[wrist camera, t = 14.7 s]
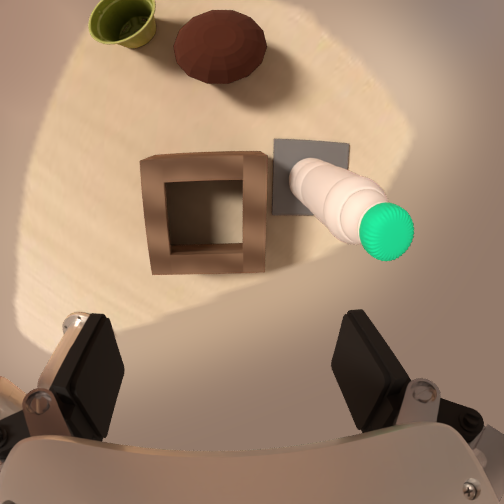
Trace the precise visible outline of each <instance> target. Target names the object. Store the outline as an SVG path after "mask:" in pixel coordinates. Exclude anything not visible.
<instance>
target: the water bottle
mask: <svg viewBox="0 0 504 504" xmlns="http://www.w3.org/2000/svg"><path fill="white" fill-rule="evenodd" d="M289 186H290V189H291V191H292V193H293V194H294V196H295V197H296V198H297V199H298V200H300V201H301V202H302V203H303V204H304V205H305V206H306V207H307V208H309V210H310V211H311V212H312V213H313V214H314V215H315V217H316V218H317V219H318V220H319V221H320V222H322V223H323V224H324V225H325V226H326V227H327V228H328V229H329V231H330V232H331V233H332V234H333V235H334V236H335V237H336V238H337V239H339V240H340V241H342V242H345V243H348V244H354V245H355V244H356V245H359V244H362V245H363V247H364V249H365V250H366V251H367V252H368V253H369V254H370V255H371V256H373V257H374V258H376V259H378V260H381V261H391V260H395V259H396V258H399V256H402V254H403V253H405V251H406V250H407V249H408V247H409V246H410V244H411V242H412V239H413V237H414V236H413V235H414V227H413V225H414V224H413V222H412V219H411V217H410V215H409V214H408V212H407V211H406V210H404V209H402V208H401V207H400V206H397V205H396V204H392V203H389V202H388V199H387V196H386V194H385V192H384V190H383V189H382V188H381V187H380V185H379V184H377V183H376V182H375V181H373V180H372V179H370V178H367V177H364V176H360V175H358V174H356V173H354V172H352V171H349V170H347V169H344V168H341V167H337V166H334V165H332V164H330V163H328V162H324V161H322V160H320V159H316V158H306V159H303V160H301V161H299V162H298V163H296V164H295V165H294V167H293V168H292V170H291V172H290V175H289Z"/></svg>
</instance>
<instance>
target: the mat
mask: <svg viewBox="0 0 504 504" xmlns="http://www.w3.org/2000/svg"><path fill="white" fill-rule="evenodd" d="M348 154H349V144H347V143H337V142H325V141H312V140H295V139H274V161H273V197H272V215H314V214H313V213H312V212H311V211H310V210H309V208H307V207H306V206H305V205H304V204H303V203H302V202H301V201H300V200H298V199H297V198H296V197H295V196H294V194H293V193H292V191H291V189H290V186H289V175H290V172H291V170H292V168H293V167H294V165H295V164H296V163H298V162H299V161H301V160H303V159H306V158H316V159H320V160H322V161H324V162H328V163H330V164H332V165H334V166H337V167H341V168H344V169H348Z"/></svg>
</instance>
